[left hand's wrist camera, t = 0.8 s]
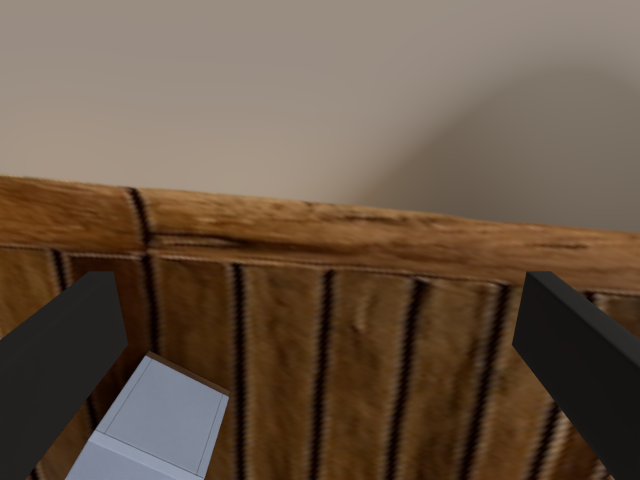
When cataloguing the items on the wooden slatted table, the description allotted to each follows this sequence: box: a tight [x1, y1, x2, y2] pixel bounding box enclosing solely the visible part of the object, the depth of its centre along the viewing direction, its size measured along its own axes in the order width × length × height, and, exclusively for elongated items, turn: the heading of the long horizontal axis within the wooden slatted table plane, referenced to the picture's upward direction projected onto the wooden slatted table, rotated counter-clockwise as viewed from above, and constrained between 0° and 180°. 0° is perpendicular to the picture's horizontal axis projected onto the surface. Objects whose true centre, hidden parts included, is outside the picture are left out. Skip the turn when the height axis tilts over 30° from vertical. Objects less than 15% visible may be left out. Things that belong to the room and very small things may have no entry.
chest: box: [95, 350, 231, 479], centre depth 39 cm, size 17×10×10 cm, turn 147°
